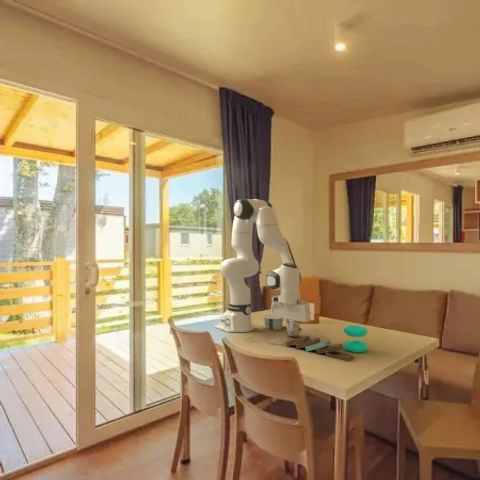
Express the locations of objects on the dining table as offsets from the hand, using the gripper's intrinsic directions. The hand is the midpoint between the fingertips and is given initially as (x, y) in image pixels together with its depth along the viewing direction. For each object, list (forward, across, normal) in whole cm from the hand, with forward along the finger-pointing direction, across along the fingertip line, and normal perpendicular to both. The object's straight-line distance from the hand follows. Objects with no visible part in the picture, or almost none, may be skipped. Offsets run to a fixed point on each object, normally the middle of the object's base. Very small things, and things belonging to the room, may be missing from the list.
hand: (290, 328), depth 170 cm
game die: (+8, +8, -13) cm, 17 cm away
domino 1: (+7, 0, 0) cm, 7 cm away
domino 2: (+7, -5, 0) cm, 8 cm away
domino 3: (+7, -10, 0) cm, 12 cm away
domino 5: (+7, -20, 0) cm, 21 cm away
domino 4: (+7, -15, 0) cm, 17 cm away
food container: (+8, +27, -21) cm, 35 cm away
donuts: (+8, -25, -14) cm, 30 cm away
